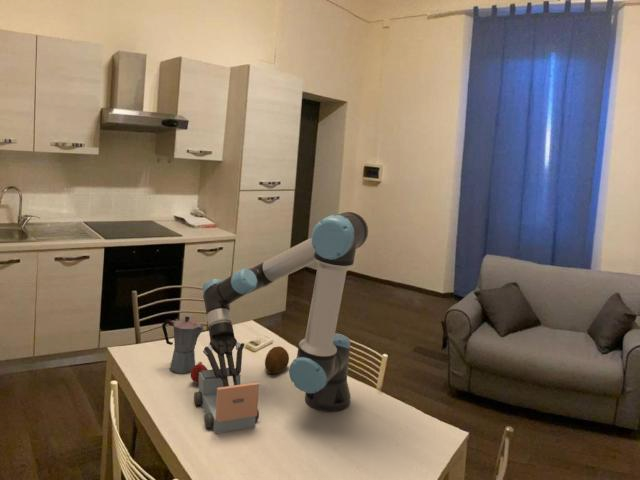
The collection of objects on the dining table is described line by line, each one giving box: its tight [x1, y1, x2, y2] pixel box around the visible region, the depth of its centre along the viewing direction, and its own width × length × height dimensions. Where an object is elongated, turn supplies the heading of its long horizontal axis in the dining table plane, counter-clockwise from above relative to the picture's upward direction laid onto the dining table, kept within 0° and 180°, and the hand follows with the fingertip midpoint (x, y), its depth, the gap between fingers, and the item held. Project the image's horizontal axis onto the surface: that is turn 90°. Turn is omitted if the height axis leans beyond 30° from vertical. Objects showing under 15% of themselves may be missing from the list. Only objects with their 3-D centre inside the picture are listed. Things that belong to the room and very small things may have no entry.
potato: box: [264, 346, 290, 375], centre depth 198 cm, size 8×12×9 cm
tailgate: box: [216, 381, 260, 422], centre depth 154 cm, size 2×12×10 cm, turn 116°
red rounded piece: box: [189, 361, 208, 385], centre depth 183 cm, size 6×6×8 cm
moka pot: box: [161, 316, 205, 374], centre depth 192 cm, size 10×15×20 cm, turn 89°
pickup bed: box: [193, 367, 260, 434], centre depth 165 cm, size 22×16×10 cm
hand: (232, 398), depth 158 cm, fingers closed
